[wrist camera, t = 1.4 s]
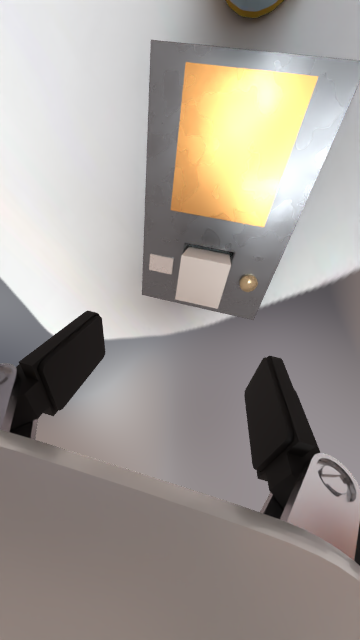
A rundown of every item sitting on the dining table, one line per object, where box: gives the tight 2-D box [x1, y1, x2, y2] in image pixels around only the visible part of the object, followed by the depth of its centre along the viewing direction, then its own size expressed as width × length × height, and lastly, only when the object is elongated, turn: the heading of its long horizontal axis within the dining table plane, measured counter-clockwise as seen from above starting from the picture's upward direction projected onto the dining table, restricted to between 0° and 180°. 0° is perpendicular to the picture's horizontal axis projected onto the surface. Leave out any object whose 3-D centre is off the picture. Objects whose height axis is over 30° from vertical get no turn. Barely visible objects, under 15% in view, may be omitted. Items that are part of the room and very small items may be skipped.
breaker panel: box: [142, 40, 360, 320], centre depth 20 cm, size 16×22×4 cm
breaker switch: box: [175, 246, 231, 309], centre depth 21 cm, size 5×5×5 cm
